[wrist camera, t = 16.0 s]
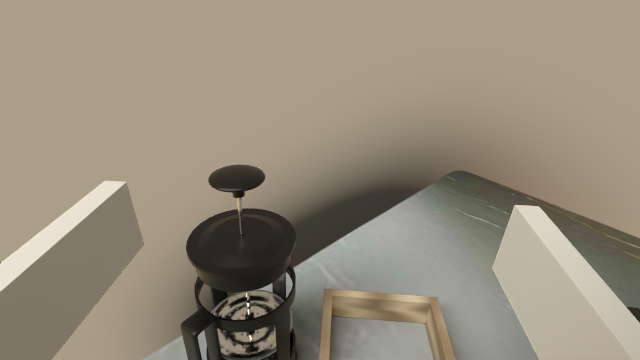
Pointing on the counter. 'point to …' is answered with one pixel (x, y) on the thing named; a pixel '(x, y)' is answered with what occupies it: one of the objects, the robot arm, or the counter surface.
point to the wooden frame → (386, 316)
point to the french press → (242, 277)
